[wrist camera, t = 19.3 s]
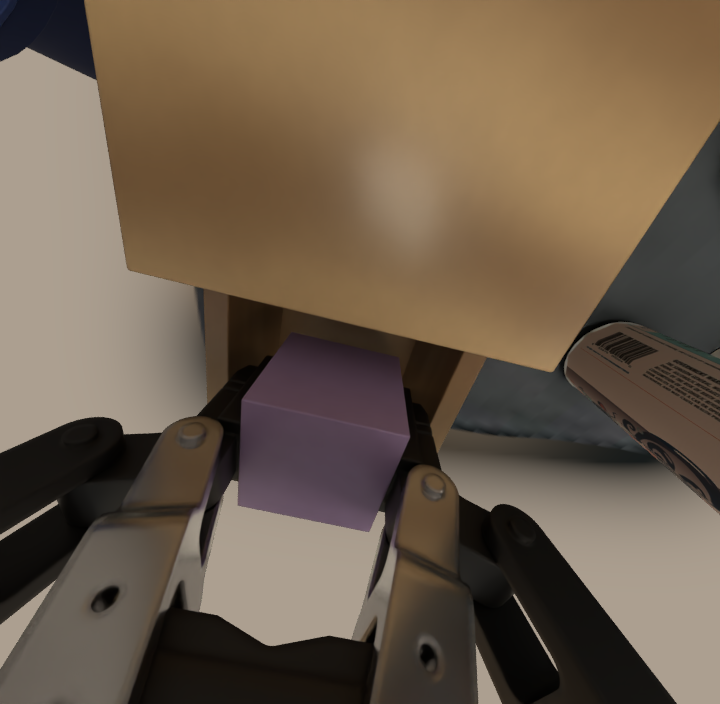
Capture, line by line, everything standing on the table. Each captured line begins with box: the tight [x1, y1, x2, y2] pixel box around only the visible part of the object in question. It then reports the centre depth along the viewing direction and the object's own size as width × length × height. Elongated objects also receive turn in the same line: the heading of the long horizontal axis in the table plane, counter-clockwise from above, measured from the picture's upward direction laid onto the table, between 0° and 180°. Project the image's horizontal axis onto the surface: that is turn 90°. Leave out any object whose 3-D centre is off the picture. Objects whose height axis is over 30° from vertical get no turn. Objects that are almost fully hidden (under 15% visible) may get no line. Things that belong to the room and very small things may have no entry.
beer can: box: [564, 322, 720, 514], centre depth 12 cm, size 5×5×12 cm
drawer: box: [203, 288, 487, 453], centre depth 13 cm, size 18×10×7 cm, turn 167°
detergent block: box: [238, 332, 410, 532], centre depth 9 cm, size 4×4×4 cm
